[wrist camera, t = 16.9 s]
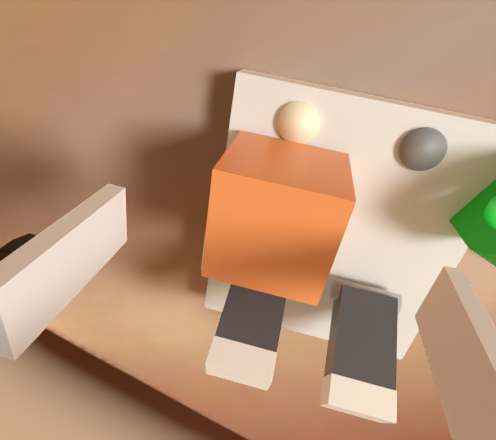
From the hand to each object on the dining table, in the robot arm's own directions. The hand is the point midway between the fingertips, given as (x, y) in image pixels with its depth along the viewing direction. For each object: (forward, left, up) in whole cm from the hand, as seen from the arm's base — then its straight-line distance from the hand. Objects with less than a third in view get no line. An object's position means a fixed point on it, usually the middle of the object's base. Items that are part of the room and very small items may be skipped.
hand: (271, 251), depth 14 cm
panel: (+3, +4, -10) cm, 11 cm away
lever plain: (+6, +7, -7) cm, 12 cm away
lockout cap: (+1, 0, -8) cm, 8 cm away
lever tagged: (+6, 0, -7) cm, 10 cm away
